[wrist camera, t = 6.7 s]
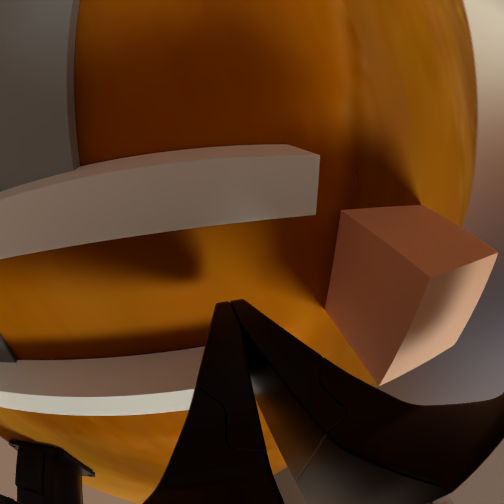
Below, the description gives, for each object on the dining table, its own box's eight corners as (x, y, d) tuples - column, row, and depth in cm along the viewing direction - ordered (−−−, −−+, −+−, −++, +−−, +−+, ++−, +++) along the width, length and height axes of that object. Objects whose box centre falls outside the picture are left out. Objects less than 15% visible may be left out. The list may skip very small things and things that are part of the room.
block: (398, 287, 13) (454, 344, 9) (323, 307, 12) (378, 386, 8) (420, 204, 10) (498, 252, 7) (339, 209, 9) (429, 277, 6)
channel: (275, 354, 12) (290, 388, 10) (-17, 374, 8) (-26, 401, 6) (287, 144, 8) (320, 155, 6) (-92, 230, 4) (-114, 252, 2)
